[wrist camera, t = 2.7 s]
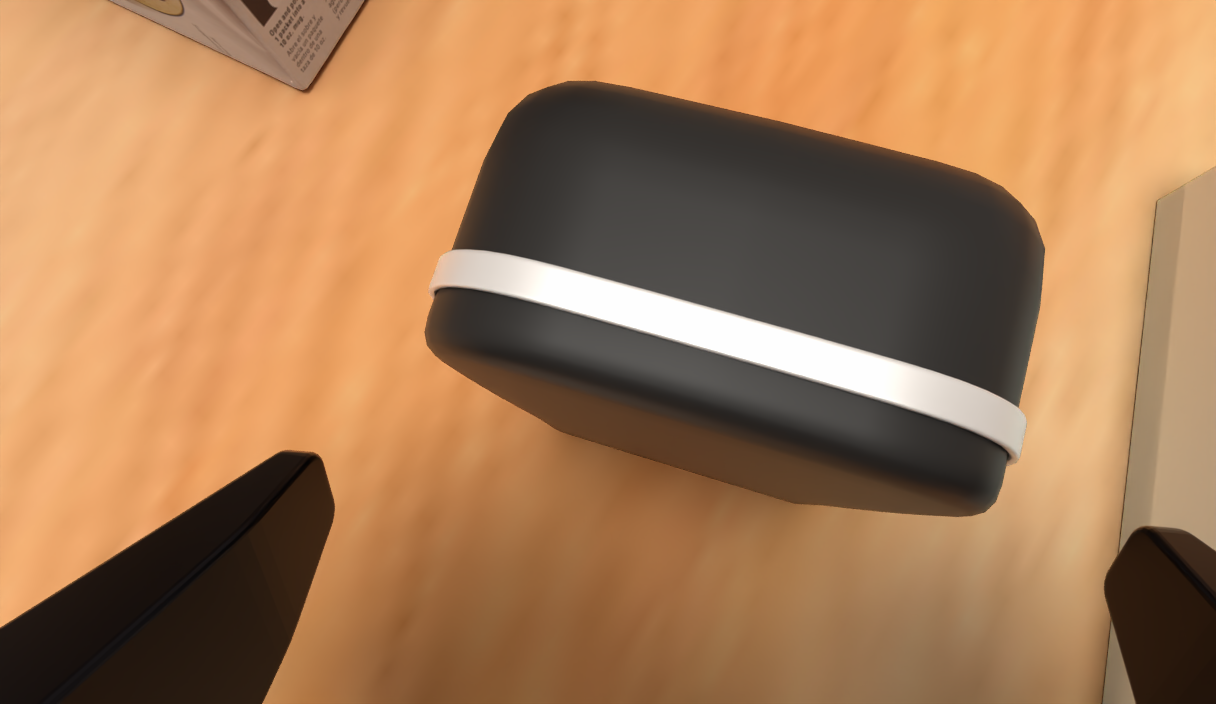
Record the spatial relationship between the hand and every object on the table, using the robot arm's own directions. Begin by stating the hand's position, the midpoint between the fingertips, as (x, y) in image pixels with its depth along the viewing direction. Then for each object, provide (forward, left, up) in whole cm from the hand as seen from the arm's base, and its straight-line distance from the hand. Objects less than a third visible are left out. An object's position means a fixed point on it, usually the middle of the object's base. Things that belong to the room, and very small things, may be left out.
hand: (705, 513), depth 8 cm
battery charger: (+3, 0, -10) cm, 10 cm away
